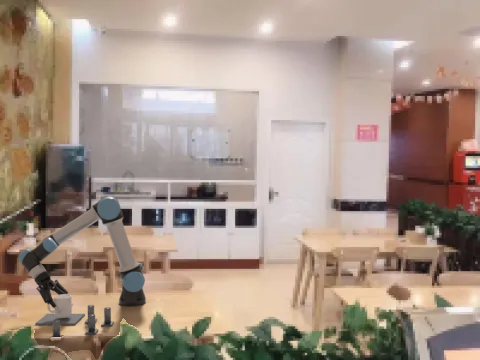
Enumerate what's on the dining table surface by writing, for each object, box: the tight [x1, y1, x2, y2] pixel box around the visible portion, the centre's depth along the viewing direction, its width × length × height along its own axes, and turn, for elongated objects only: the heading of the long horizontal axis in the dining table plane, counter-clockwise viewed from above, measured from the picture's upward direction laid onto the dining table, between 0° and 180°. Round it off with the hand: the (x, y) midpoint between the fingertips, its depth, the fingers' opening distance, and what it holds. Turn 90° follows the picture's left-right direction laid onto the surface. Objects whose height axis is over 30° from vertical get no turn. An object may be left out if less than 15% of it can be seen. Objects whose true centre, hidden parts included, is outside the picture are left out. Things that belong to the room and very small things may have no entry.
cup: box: [46, 293, 73, 318], centre depth 263 cm, size 8×12×10 cm
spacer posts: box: [51, 304, 115, 337], centre depth 248 cm, size 23×29×8 cm
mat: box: [34, 313, 86, 326], centre depth 264 cm, size 20×16×1 cm
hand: (65, 309), depth 262 cm, fingers closed on cup, 8 cm apart
